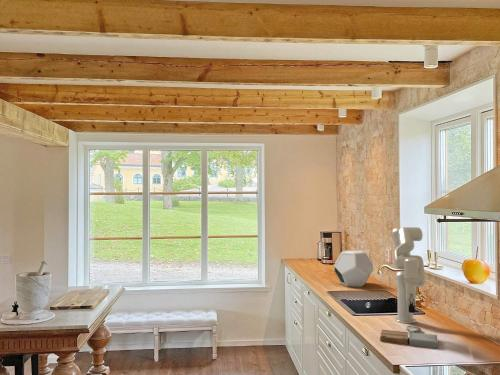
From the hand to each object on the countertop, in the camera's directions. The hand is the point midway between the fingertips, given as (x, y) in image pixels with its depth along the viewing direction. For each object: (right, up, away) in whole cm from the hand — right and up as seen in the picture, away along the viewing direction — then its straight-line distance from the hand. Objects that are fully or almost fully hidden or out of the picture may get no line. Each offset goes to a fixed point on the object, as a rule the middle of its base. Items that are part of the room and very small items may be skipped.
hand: (411, 310), depth 258 cm
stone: (0, -14, 0) cm, 14 cm away
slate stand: (+1, -14, -14) cm, 20 cm away
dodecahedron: (0, -17, +144) cm, 145 cm away
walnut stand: (-13, -14, -9) cm, 21 cm away
